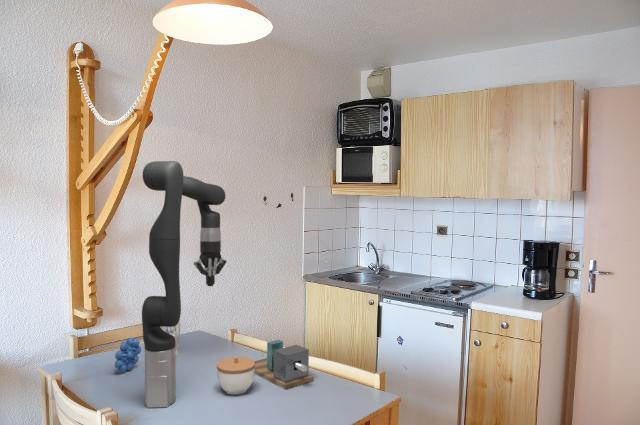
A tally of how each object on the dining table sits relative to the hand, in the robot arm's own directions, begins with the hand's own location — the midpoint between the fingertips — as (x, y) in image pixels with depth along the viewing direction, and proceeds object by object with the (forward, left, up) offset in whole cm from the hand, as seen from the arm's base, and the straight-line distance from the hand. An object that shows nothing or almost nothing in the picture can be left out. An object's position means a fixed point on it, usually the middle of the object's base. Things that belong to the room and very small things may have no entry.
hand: (210, 285), depth 185 cm
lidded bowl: (-23, -11, -31) cm, 40 cm away
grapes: (-2, +30, -31) cm, 43 cm away
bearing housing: (-17, -30, -29) cm, 45 cm away
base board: (-10, -25, -31) cm, 41 cm away
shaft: (-15, -29, -29) cm, 43 cm away
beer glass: (+14, +17, -31) cm, 38 cm away
